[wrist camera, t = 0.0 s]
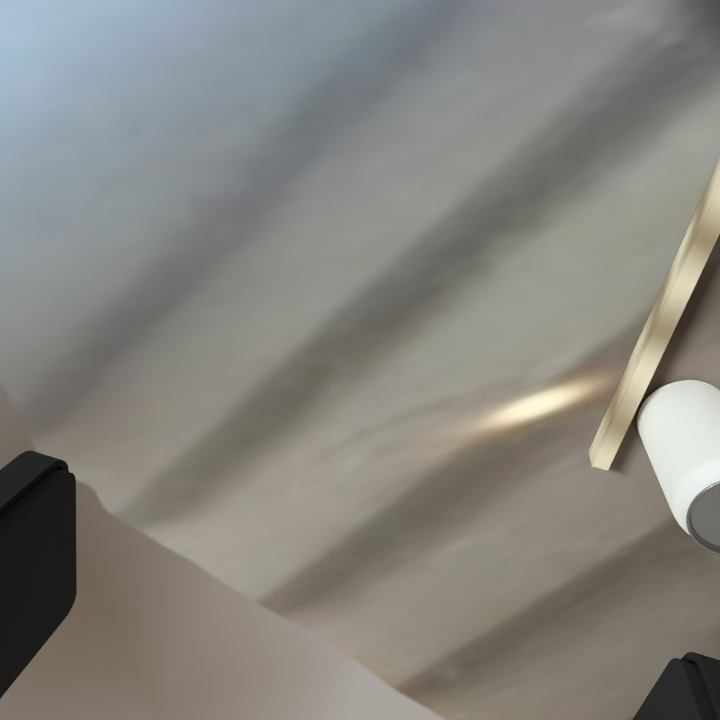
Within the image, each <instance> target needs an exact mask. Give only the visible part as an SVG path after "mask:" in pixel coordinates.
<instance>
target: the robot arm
mask: <svg viewBox="0 0 720 720" xmlns="http://www.w3.org/2000/svg"><path fill="white" fill-rule="evenodd" d="M75 597H76V480H75V476H74V474H73V473H70V472H69V470H68V465H67V463H66V462H65V461H63V460H60V459H57V458H53V457H50V456H47V455H43V454H40V453H37V452H34V451H26V452H24V453H22V454H20V455H19V456H18V457H16V458H15V459H14V460H12V461H11V462H10V463H9V464H7V465H6V466H5V467H3V468H2V469H1V470H0V698H1V697H2V696H3V694H4V693H5V692H6V691H7V690H8V688H9V687H10V686H11V685H12V683H13V682H14V681H15V680H16V678H17V677H18V676H19V675H20V673H21V672H22V671H23V670H24V668H25V667H26V666H27V665H28V663H29V662H30V661H31V660H32V659H33V657H34V656H35V655H36V653H37V652H38V651H39V650H40V649H41V647H42V646H43V645H44V643H45V642H46V641H47V640H48V639H49V637H50V636H51V635H52V634H53V632H54V631H55V630H56V629H57V628H58V626H59V625H60V624H61V623H62V621H63V620H64V619H65V618H66V616H67V615H68V613H69V612H70V610H71V608H72V606H73V604H74V601H75ZM633 720H720V660H717V659H714V658H710V657H707V656H704V655H700V654H697V653H693V652H689V653H687V654H685V655H684V657H683V658H682V659H677V658H674V659H672V660H671V661H670V662H669V663H668V665H667V666H666V668H665V670H664V671H663V673H662V674H661V676H660V677H659V679H658V680H657V682H656V684H655V685H654V687H653V688H652V690H651V691H650V693H649V695H648V696H647V698H646V699H645V701H644V702H643V704H642V706H641V707H640V709H639V710H638V712H637V713H636V715H635V717H634V718H633Z"/></svg>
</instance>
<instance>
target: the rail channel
mask: <svg viewBox="0 0 720 720" xmlns="http://www.w3.org/2000/svg"><path fill="white" fill-rule="evenodd" d="M719 234H720V159H719V161H718V163H717V166H716V168H715V170H714V172H713V175H712V177H711V179H710V181H709V183H708V186H707V188H706V190H705V192H704V195H703V197H702V199H701V201H700V204H699V206H698V208H697V210H696V213H695V215H694V217H693V219H692V221H691V224H690V226H689V228H688V230H687V233H686V235H685V237H684V239H683V242H682V244H681V246H680V248H679V251H678V253H677V255H676V257H675V260H674V262H673V264H672V266H671V268H670V271H669V273H668V275H667V277H666V280H665V282H664V284H663V286H662V289H661V291H660V293H659V295H658V298H657V300H656V302H655V304H654V307H653V309H652V311H651V313H650V315H649V318H648V320H647V322H646V324H645V327H644V329H643V331H642V333H641V336H640V338H639V340H638V342H637V345H636V347H635V349H634V351H633V354H632V356H631V358H630V360H629V362H628V365H627V367H626V369H625V371H624V374H623V376H622V378H621V380H620V383H619V385H618V387H617V389H616V392H615V394H614V396H613V398H612V400H611V403H610V405H609V407H608V409H607V412H606V414H605V416H604V418H603V421H602V423H601V425H600V427H599V430H598V432H597V434H596V436H595V439H594V441H593V443H592V445H591V447H590V450H589V456H590V460H591V464H592V466H593V467H597V468H601V469H604V470H608V469H609V467H610V465H611V463H612V461H613V459H614V457H615V455H616V452H617V450H618V448H619V446H620V444H621V442H622V440H623V438H624V436H625V433H626V431H627V429H628V427H629V425H630V423H631V421H632V419H633V416H634V414H635V412H636V410H637V408H638V406H639V404H640V402H641V400H642V397H643V395H644V393H645V391H646V389H647V387H648V385H649V383H650V380H651V378H652V376H653V374H654V372H655V370H656V368H657V366H658V364H659V361H660V359H661V357H662V355H663V353H664V351H665V349H666V347H667V344H668V342H669V340H670V338H671V336H672V334H673V332H674V330H675V327H676V325H677V323H678V321H679V319H680V317H681V315H682V313H683V311H684V308H685V306H686V304H687V302H688V300H689V298H690V296H691V294H692V291H693V289H694V287H695V285H696V283H697V281H698V279H699V277H700V275H701V272H702V270H703V268H704V266H705V264H706V262H707V260H708V258H709V255H710V253H711V251H712V249H713V247H714V245H715V243H716V241H717V238H718V236H719Z"/></svg>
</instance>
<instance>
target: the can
mask: <svg viewBox="0 0 720 720" xmlns="http://www.w3.org/2000/svg"><path fill="white" fill-rule="evenodd" d="M637 426H638V430H639V434H640V436H641V439H642V441H643V444H644V446H645V449H646V451H647V454H648V456H649V459H650V461H651V463H652V466H653V468H654V471H655V473H656V475H657V478H658V480H659V483H660V485H661V487H662V490H663V492H664V494H665V497H666V499H667V501H668V504H669V506H670V508H671V511H672V513H673V515H674V517H675V519H676V520H677V522H678V523H679V525H680V526H681V527H682V528H683V529H684V530H685V531H686V532H687V533H688V534H689V535H691V537H692V538H693V540H694V541H695V542H696V543H697V544H698V545H699V546H701V547H702V548H703V549H705V550H707V551H709V552H711V553H713V554H716V555H720V390H719V389H717V388H716V387H714V386H712V385H710V384H708V383H705V382H701V381H696V380H685V381H678V382H674V383H671V384H668V385H665V386H663V387H661V388H659V389H657V390H656V391H654V392H653V393H652V394H651V395H649V396H648V398H647V399H646V400H645V401H644V403H643V404H642V406H641V408H640V410H639V413H638V418H637Z"/></svg>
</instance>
